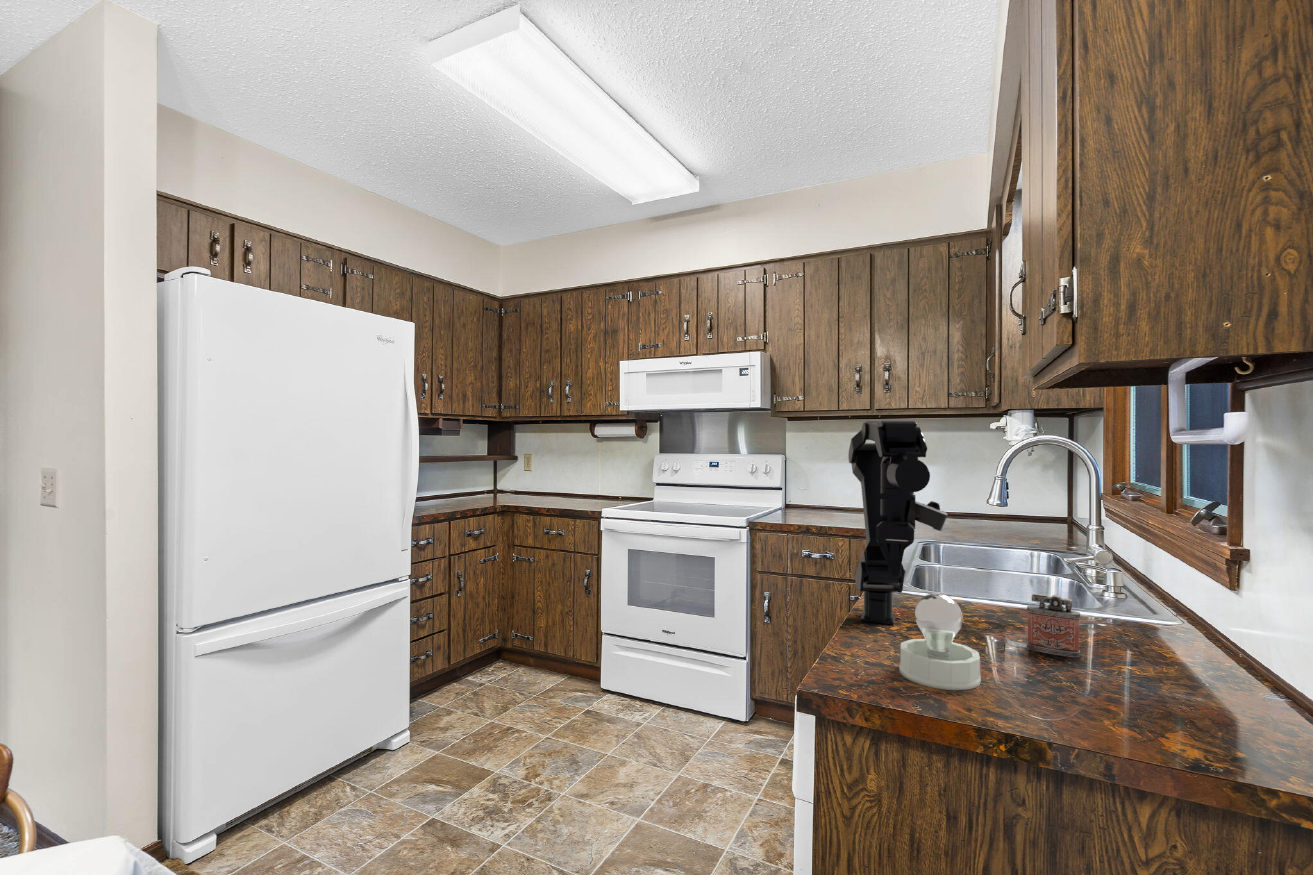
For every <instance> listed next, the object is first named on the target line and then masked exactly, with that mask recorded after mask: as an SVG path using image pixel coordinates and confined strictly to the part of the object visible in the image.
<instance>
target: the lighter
mask: <svg viewBox="0 0 1313 875" xmlns="http://www.w3.org/2000/svg"><path fill="white" fill-rule="evenodd" d="M1031 601H1032V602H1036V603H1037V602H1038V603H1039V605H1035V604H1034V605H1031V604H1029V605H1027V606H1026V610H1027V642H1026V649H1028V650H1031V651H1035V652H1041V653H1044V654H1050V655H1055V656H1062V657H1070V658H1080V656H1081V650H1080V619H1081V612H1079V611H1076V610H1072V608H1073V600H1072V599H1071V598H1064V597H1061V596H1060V595H1058V594H1052V596H1048V595H1047V594H1040V593H1032V594H1031ZM1045 604H1048V605H1047V606H1046V605H1045ZM1064 606H1065V608H1064Z"/></svg>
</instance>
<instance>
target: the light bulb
mask: <svg viewBox="0 0 1313 875" xmlns="http://www.w3.org/2000/svg"><path fill="white" fill-rule="evenodd" d="M914 618H915V619H914V620H915V622H916V624H917V626H918V628H919V630H920V632H921V633H922V635H923V637H924V638H923V639H925V644H926V646H927V648H928V649H927V652H928V653H927V656H928V657H927V658H931V659H938V660H945V661H950V660H949V659H950V657H949V655H950V653H949V650H950V649H951V646H952V642H953V641H954V639H955V637H956V635H957V634H958V633H959V631H960V629H961V628H962V624H963V612H962V610H961V608H960V606H959V604H958V603H957V602H956V601H955V599H953V598H952V597H951V596H948V595H947V594H944V593H942V592H941V593H940V592H933V593H932V592H931V593H928V594H926V595H925V596H922V597H921V599H919V601H918V602H917V604H916V606H915V610H914Z"/></svg>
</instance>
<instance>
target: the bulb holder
mask: <svg viewBox="0 0 1313 875" xmlns="http://www.w3.org/2000/svg"><path fill="white" fill-rule="evenodd" d="M927 649H928V648H927V646H926V644H925V638H911V639H908V640H904V641H902V642H900V661H899V663H898V664H899V665H898V666H899V670H898V671H899V673H900V674H901V676H902V677H904V678H905V679H907V680H908V681H911V682H913V683H916V684H918V685H922V686H925V687H929V688H932V689H933V688H934V689H939V690H948V691H965V690H967V691H968V690H972V689H975V688H978V687H979V686H980V684H981V682H982V680H981V657H980V654H979V651H977V650H975V649H973V648H971V647H969V646H968V645H964V644H960V643H957V642H953V641H952V646H951V649H950V650H949V653H950V655H949V657H950V659H949V660H950V661H945V660H938V659H931V658H927V657H928V656H927V653H928V652H927Z"/></svg>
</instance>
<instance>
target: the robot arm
mask: <svg viewBox="0 0 1313 875" xmlns="http://www.w3.org/2000/svg"><path fill="white" fill-rule="evenodd" d="M867 441H873V443H872V442H871V443H870V442H869V443H868V442H867ZM866 442H867V443H866ZM927 451H928V446H927V444H926V441H925V438H924V434H923V432H922V430H921V427H920V426H918V423H917V422H916V421H915V420H878V421H876V420H873V421H869V420H868V421H865V422H863V423H862V425H861V429H860V430H859V431H858V432H857V433H856V434H855V435H854V436H853V437H852V438H851V439H850V443H849V449H848V456H847V457H848V463H849V464H851V470H852V474H853V475H854V476H855V478H856V479H857V480H858V481H859V482H860V486H861V497H862V507H863V517H864V519H863V520H864V530H865V539H866V546H865V547H864V550H863V552H862V554H861V556H860V559H859V560H860V561H859V562H858V564H857V569H856V571H855V576H854V577H855V578H854V579H855V580H854V581H855V587H856V588H857V590H858V591H859V592H863V611H862V613H861V616H860V621H862V622H867V623H876V624H877V623H878V624H886V625H894V624H895V620H896V614H894V613H893V612H894V611H893V610H894V607H893V606H894V605H893V603H894V599H893V598H894V596H893V595H894V593H898V594H899V593H900V594H902V592H903V590H904V582H905V576H906V570H905V569H904V565H903V559H904V554H905V550H907V548H908V547H910V546H911V545H912V544H913V543H914V541H915V532H916V531H915V530H916V522H919V523H921V524H924V525H926V526H929V527H932V529H933V530H935V531H936V530H937V531H939V532H941V531H942V529H943V527H944V526H945V523H946V520H947V517H948V513H947V512H946V511H944V510H941V508H940V507H941V506H940V503H938V502H937V501H933V500H930V502H928V503H927V504H925V503H923V502H919V501H917V500H916V494H915V493H917V492H920V491H922V490H924V489H925V488H926V487H927V486H928V484H929V482H930V480H931V479H930V478H931V473H930V471H929V468H928V466H927V464H925V463H924V462H923V461H921V460H920V459H919V458H926V457H927Z"/></svg>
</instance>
